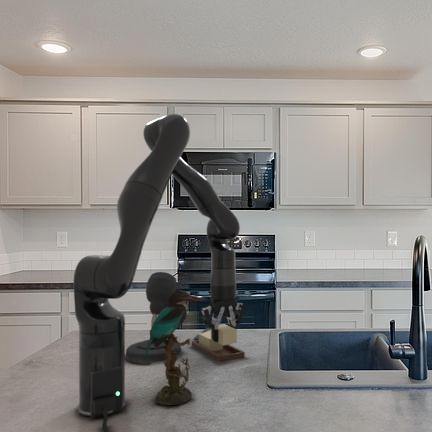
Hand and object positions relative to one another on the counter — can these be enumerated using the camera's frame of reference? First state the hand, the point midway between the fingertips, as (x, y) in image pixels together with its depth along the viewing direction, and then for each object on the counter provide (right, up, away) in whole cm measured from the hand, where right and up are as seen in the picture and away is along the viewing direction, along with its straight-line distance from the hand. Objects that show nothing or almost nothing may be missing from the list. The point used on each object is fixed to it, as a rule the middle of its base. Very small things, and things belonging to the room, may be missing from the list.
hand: (223, 339), depth 134 cm
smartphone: (-8, -5, +23) cm, 25 cm away
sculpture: (-6, -5, -31) cm, 32 cm away
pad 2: (0, 0, 0) cm, 0 cm away
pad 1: (-5, -4, +7) cm, 10 cm away
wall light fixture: (-21, -5, +4) cm, 22 cm away
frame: (-3, -5, +3) cm, 7 cm away
